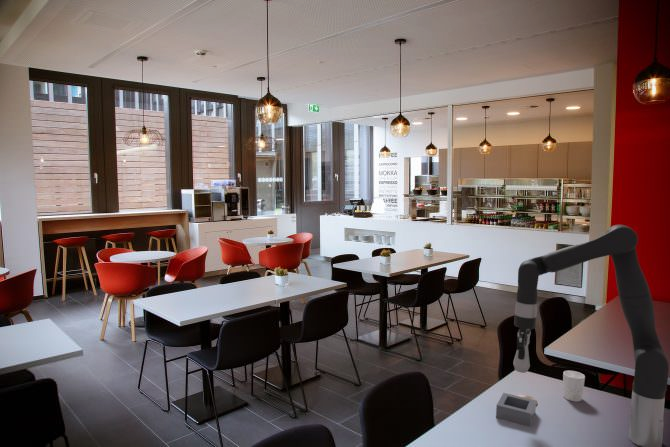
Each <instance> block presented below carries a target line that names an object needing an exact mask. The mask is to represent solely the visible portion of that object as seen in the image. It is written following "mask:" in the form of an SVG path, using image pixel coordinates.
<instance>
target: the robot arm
mask: <svg viewBox="0 0 670 447" xmlns="http://www.w3.org/2000/svg"><path fill="white" fill-rule="evenodd" d="M638 243H639V236H638V234H637V232H636V231H635V230H633V228H632V227H630V226H627V225H624V224H615V225H612V226H611V227H609V228H608V229H607V230H606V232H605V234H602V235H601V236H599V237H597V238H595V239H592V240H589V241H587V242H583V243H579V244H575V245H570V246H566V247H564V248H560V249H557V250H553V251H551V252H548V253H546V254H544V255H541V256H535V257H533V258H528V259H525V260H524V261H522V262H521V263H520V265H519V267H518V270H517V290H516V291H517V292H516V301H515V302H516V303H515V307H514V319H513V320H514V321H513V324H514V326H515V327H517V328H519V329H518V331H517V335H516V336H517V337H516V351H517V350H519V351H518V358H519V359H521V360H523V359H524V357H525V351H526V345H527V344H528V338H529V340H530V337H531V333H532V332H531V331H532V330H534V329H535V328H536V326H537V324H536V323H537V317H538V316H537V311H538V309H537V308H538V306H537V305H538V284H539V283H538V282H539V277H540V276H543V275H545V274H548V273H556V272H559V271H564V270H566V269H569V268H571V267H574V266H577V265H580V264H582V263H585V262H586V263H587V262H588V261H591V260H594V259H598V258H604V257H606V256H610V257H611V260H612V263H613V266H614V272H615V280H616V287H617V288H616V289H617V293H618V298H619V300H620V305H621V309H622V312H623V316H624V318H625V320H626V323H627V325H628V327H629V330H630V333H631V338H632V345H633V347H632V348H633V359H634V363H635V364H634V365H635V366H634V376H633V377H634V379H633V382H632V391H631V403H630V404H631V405H630V417H629V429H628V439H629V441H631V442H632V443H633V444H635V445H637V446H639V447H662V444H663V437H664V436H663V433H664V424H665V423H664V412H665V401H666V400H665V399H666V392H667V388H668V379H669V371H670V370H669V369H670V367H669V366H670V365H669V360H668V358H667V356H666V353H665V352H664V350H663V347H662V345H661V342H660V339H659V336H658V334H657V333H658V332H657V330H656V322H655V317H656V316H655V308H654V302H653V298H652V294H651V290H650V288H649V285H648V282H647V279H646V277H645V275H644V272H643V269H642V268H641V266H640V263H639V258H638V253H637V247H636V246H637V245H638ZM525 341H526V343H525ZM530 341H531V340H530ZM529 345H530V343H529V344H528V346H529ZM520 346H522V347H523V348H522V347H520Z"/></svg>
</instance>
